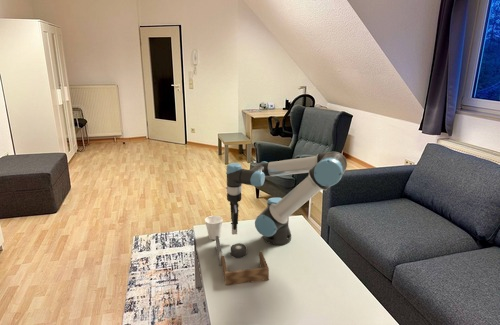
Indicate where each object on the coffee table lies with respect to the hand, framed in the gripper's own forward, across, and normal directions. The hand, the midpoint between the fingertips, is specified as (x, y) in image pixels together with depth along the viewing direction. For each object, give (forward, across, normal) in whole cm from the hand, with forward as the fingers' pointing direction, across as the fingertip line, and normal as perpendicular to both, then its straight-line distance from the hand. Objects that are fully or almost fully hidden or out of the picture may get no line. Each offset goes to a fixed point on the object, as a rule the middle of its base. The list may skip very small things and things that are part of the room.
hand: (234, 233), depth 185 cm
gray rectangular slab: (+5, +12, -9) cm, 16 cm away
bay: (+5, +28, 0) cm, 29 cm away
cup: (+6, -8, -10) cm, 14 cm away
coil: (+5, +11, 0) cm, 12 cm away
